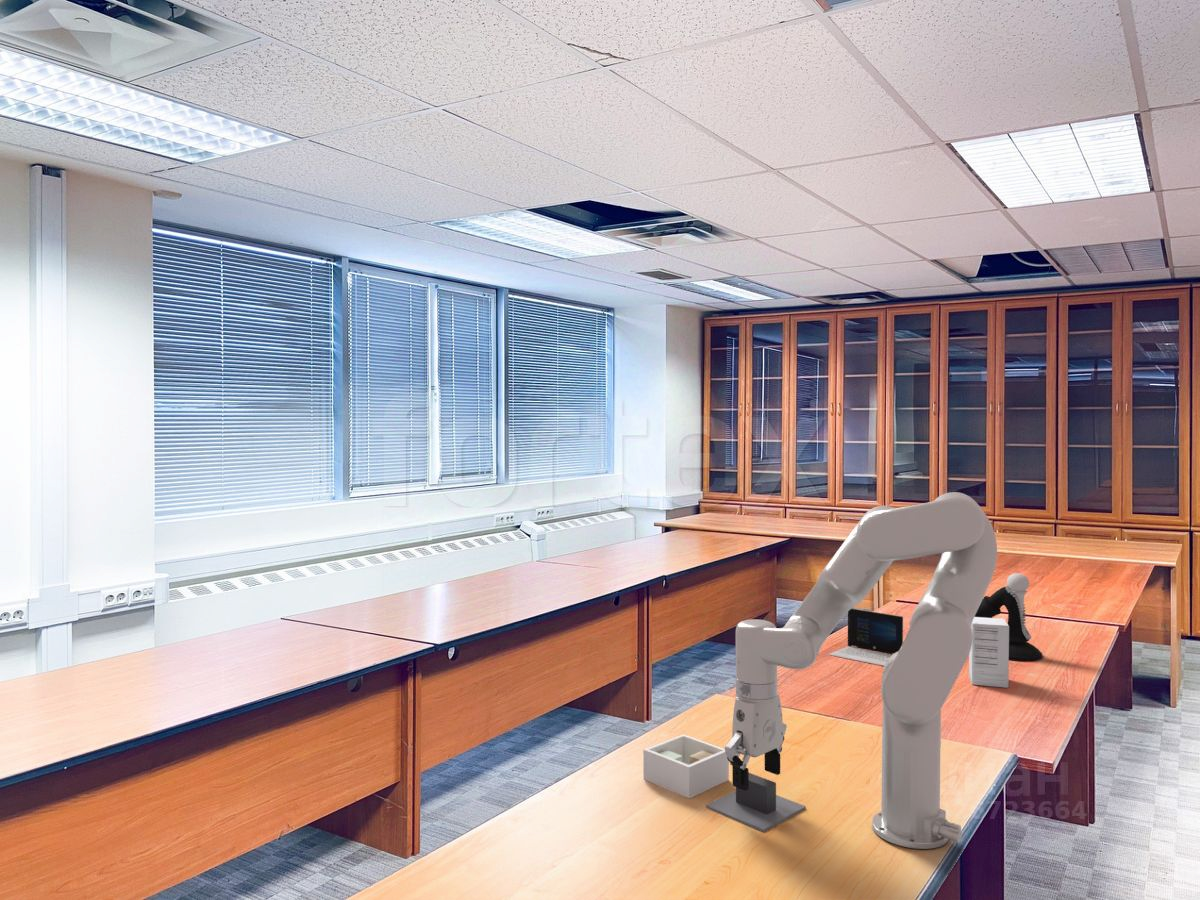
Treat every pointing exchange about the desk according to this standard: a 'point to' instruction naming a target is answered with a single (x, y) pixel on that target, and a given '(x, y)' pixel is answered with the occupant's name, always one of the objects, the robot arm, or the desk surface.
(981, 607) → the sculpture
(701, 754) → the birch block
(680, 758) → the sage block
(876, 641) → the laptop
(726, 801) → the lid
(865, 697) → the desk surface
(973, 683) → the supplement box
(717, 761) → the storage box
